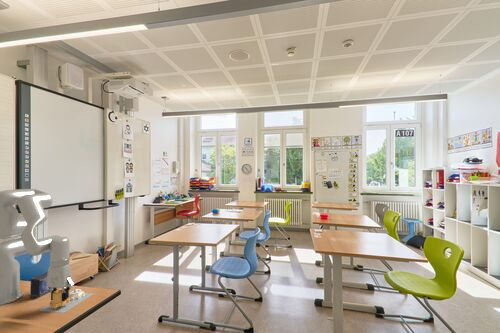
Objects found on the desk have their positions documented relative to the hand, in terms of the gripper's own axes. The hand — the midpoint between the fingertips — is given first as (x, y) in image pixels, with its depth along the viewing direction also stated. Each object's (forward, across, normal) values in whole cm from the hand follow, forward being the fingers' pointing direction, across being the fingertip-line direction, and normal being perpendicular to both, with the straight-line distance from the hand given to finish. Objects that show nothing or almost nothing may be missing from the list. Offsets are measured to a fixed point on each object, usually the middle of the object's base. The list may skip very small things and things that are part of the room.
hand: (59, 298), depth 118 cm
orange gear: (+2, 0, 0) cm, 2 cm away
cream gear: (+4, 0, +9) cm, 10 cm away
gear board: (+5, 0, +4) cm, 7 cm away
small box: (+5, -24, +12) cm, 27 cm away
